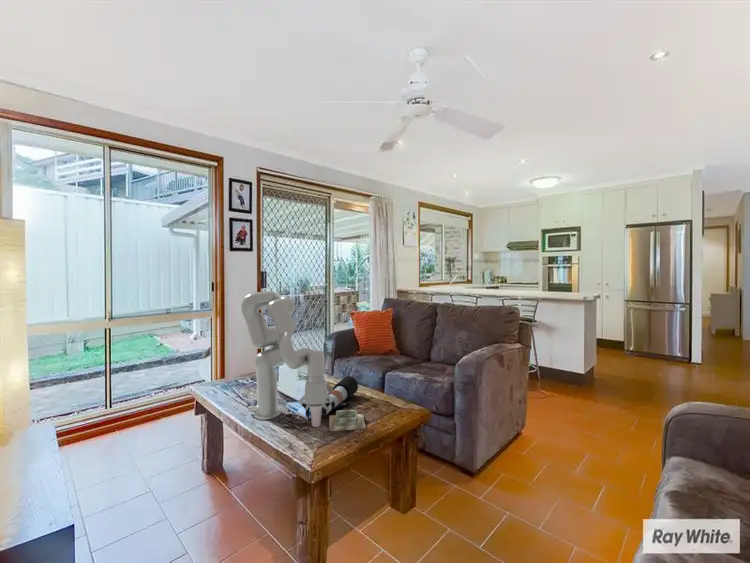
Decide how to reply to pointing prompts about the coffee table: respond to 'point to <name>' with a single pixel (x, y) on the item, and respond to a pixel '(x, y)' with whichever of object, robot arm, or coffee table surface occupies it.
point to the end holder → (346, 420)
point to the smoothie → (316, 414)
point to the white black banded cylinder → (342, 392)
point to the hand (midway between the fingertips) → (316, 416)
